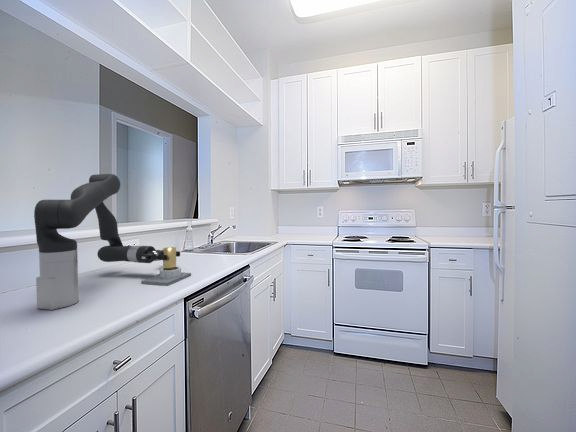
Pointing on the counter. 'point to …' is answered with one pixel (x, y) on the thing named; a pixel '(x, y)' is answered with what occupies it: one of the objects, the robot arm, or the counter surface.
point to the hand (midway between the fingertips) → (173, 255)
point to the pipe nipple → (170, 258)
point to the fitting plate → (166, 277)
